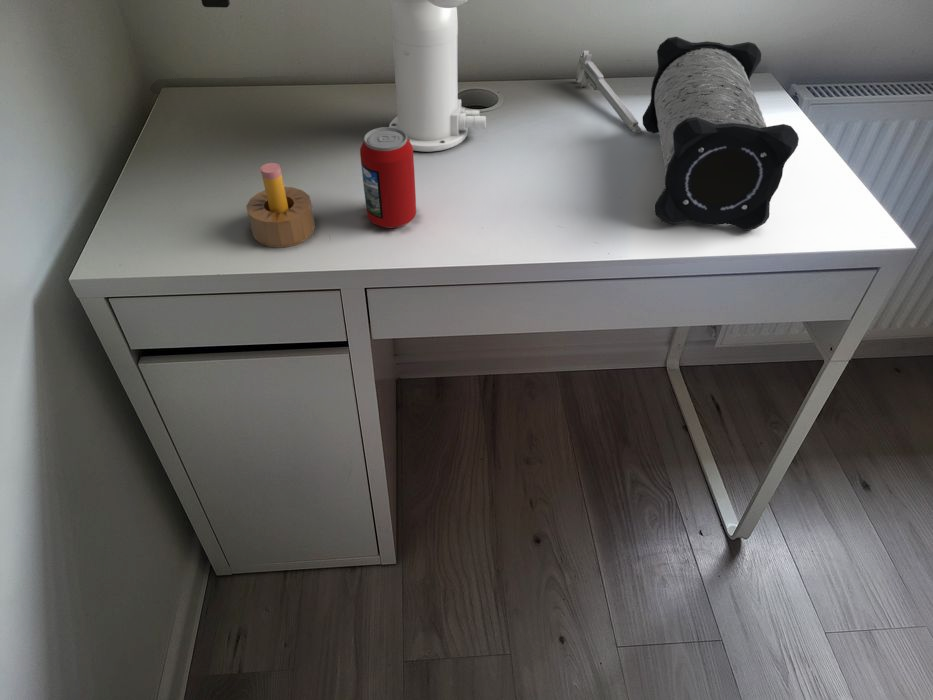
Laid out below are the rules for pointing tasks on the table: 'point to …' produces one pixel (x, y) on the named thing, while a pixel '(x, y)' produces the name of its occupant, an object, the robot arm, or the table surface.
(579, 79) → the caliper
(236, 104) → the table surface
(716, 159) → the speaker
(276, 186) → the pencil
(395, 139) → the beverage can
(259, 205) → the brown wooden ring
